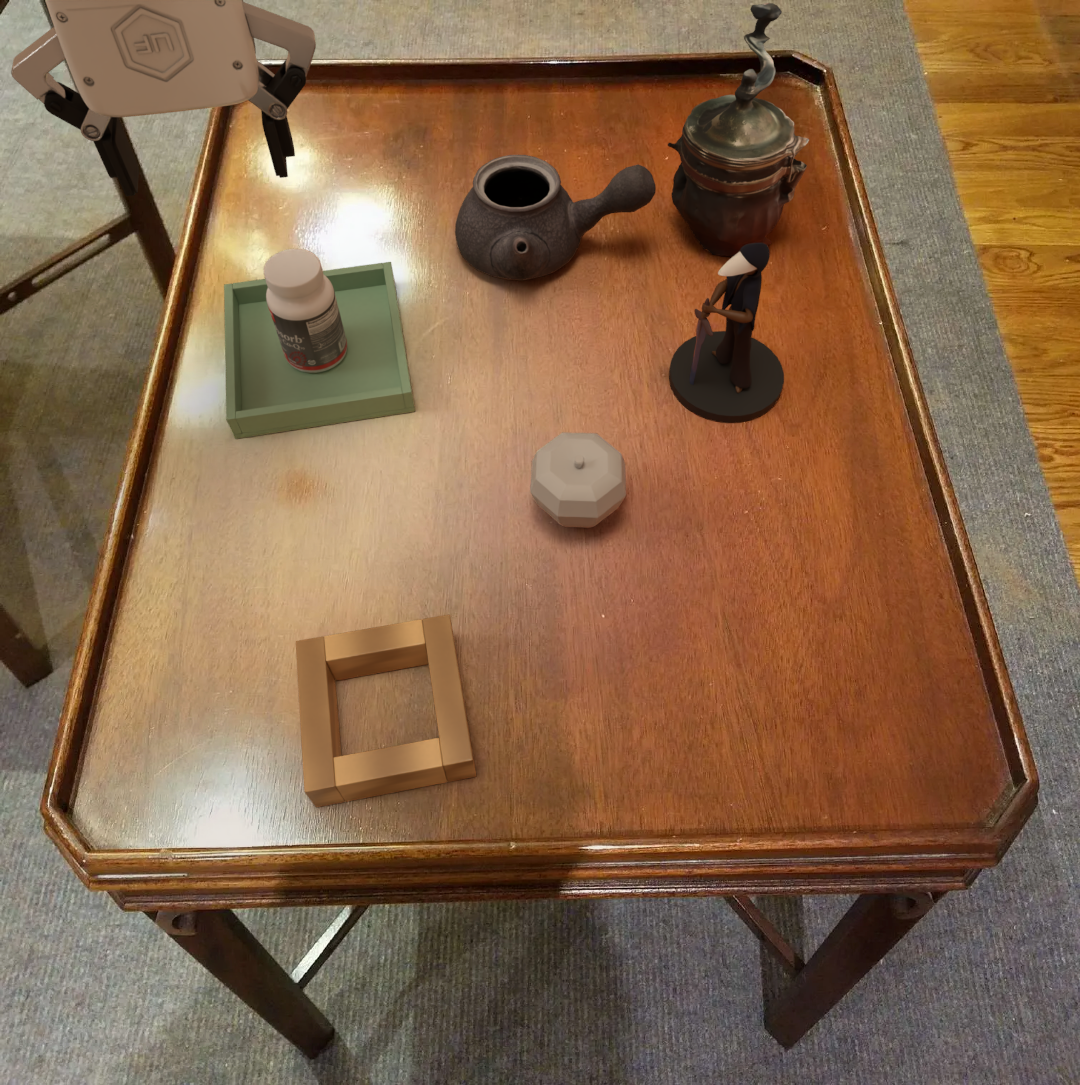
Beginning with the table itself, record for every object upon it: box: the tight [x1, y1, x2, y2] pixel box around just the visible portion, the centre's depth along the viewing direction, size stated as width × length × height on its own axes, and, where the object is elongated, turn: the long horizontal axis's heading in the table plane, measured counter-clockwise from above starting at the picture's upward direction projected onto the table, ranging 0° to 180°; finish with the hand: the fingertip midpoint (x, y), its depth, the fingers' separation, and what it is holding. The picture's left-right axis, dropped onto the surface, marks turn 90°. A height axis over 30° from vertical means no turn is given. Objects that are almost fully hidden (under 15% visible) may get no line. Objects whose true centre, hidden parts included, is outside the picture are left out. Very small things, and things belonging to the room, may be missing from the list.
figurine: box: [668, 243, 785, 424], centre depth 75 cm, size 10×10×15 cm
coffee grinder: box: [667, 2, 810, 257], centre depth 86 cm, size 13×15×18 cm
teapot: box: [454, 154, 657, 281], centre depth 86 cm, size 19×15×10 cm
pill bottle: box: [263, 247, 347, 373], centre depth 79 cm, size 6×6×10 cm
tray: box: [223, 261, 416, 440], centre depth 83 cm, size 16×17×3 cm
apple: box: [529, 431, 627, 529], centre depth 72 cm, size 8×8×7 cm
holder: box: [295, 614, 477, 808], centre depth 64 cm, size 11×11×4 cm
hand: (208, 173), depth 60 cm, fingers open, 9 cm apart
